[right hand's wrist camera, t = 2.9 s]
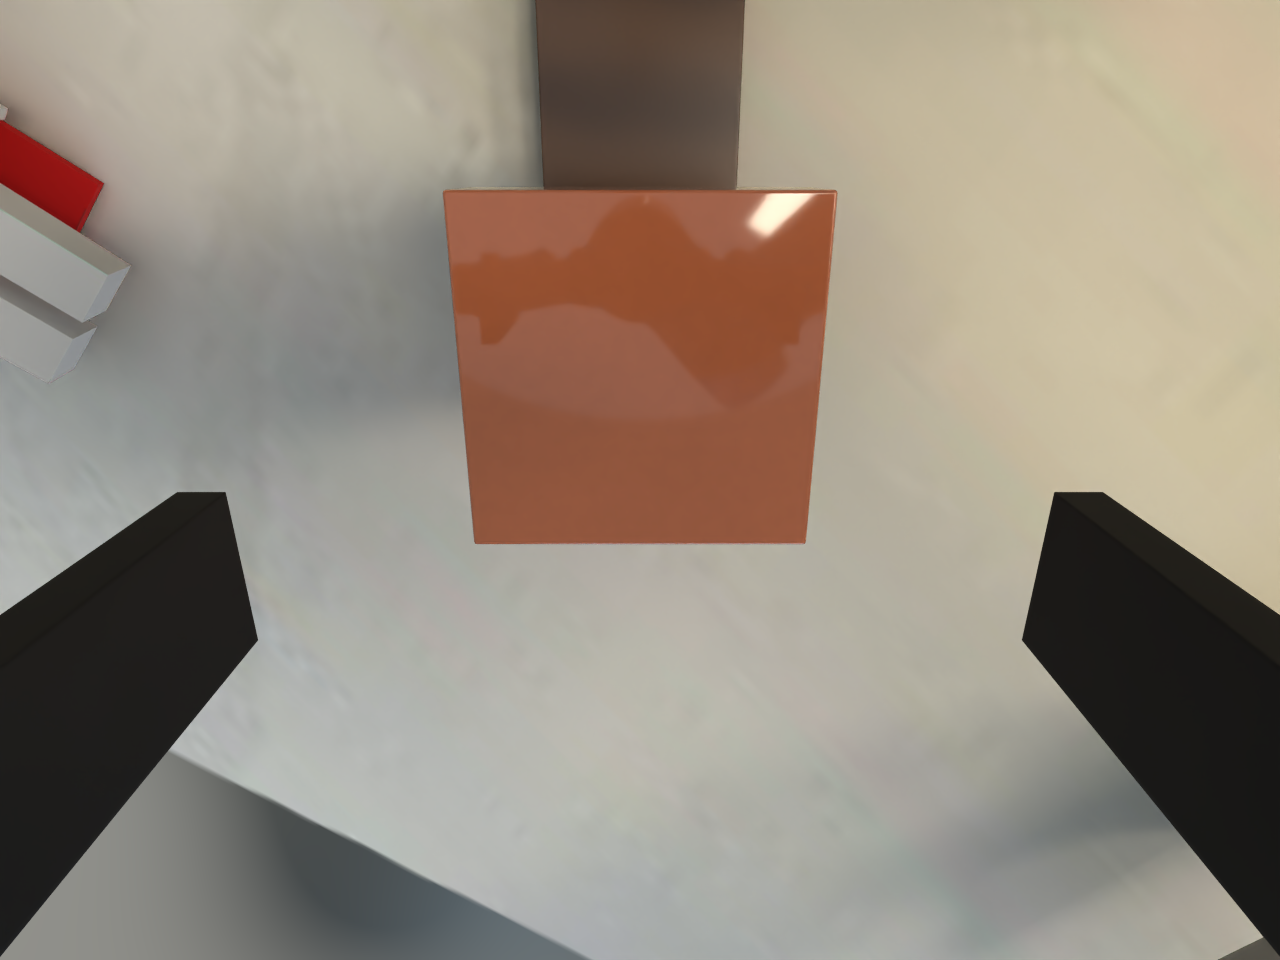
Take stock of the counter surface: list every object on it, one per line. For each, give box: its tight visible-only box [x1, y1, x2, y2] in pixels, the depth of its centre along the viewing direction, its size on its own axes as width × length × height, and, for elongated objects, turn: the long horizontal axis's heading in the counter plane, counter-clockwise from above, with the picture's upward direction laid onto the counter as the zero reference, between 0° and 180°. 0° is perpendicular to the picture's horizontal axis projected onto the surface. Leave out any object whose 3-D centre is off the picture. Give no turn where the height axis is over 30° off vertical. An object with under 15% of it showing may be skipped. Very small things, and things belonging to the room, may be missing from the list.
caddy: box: [535, 0, 745, 187], centre depth 29 cm, size 30×9×14 cm, turn 0°
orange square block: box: [443, 187, 838, 544], centre depth 26 cm, size 11×11×5 cm
